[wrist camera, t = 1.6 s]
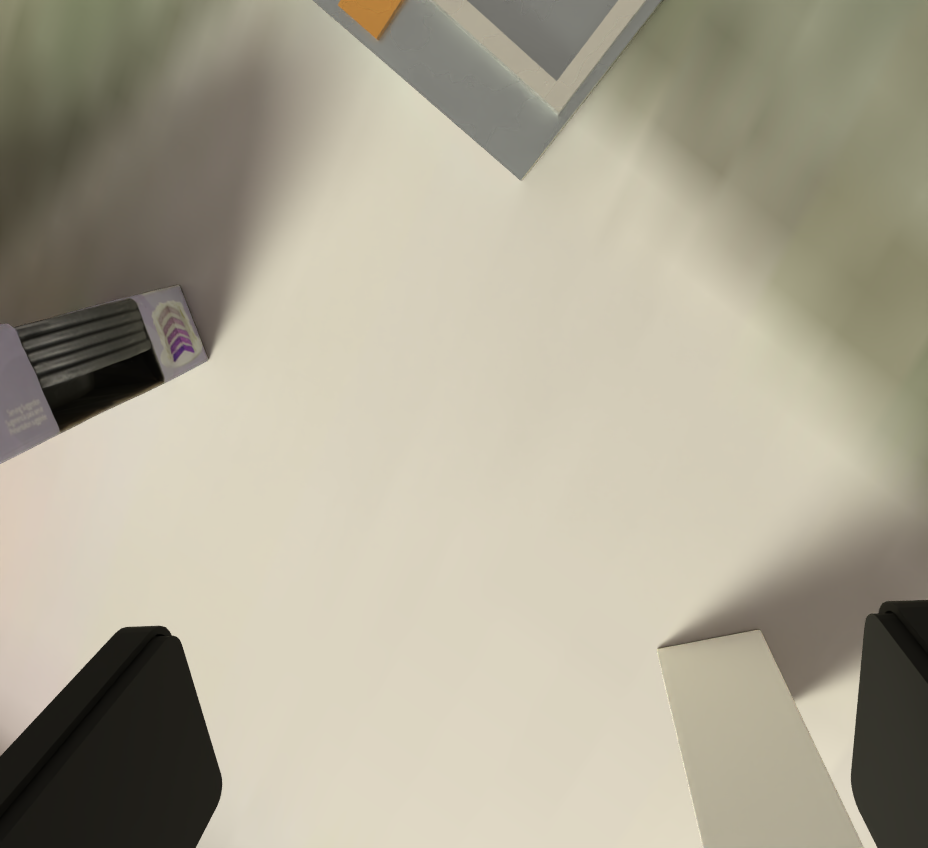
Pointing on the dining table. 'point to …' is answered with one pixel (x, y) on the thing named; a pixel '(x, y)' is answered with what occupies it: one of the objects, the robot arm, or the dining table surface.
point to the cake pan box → (90, 363)
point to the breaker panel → (499, 60)
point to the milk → (749, 749)
